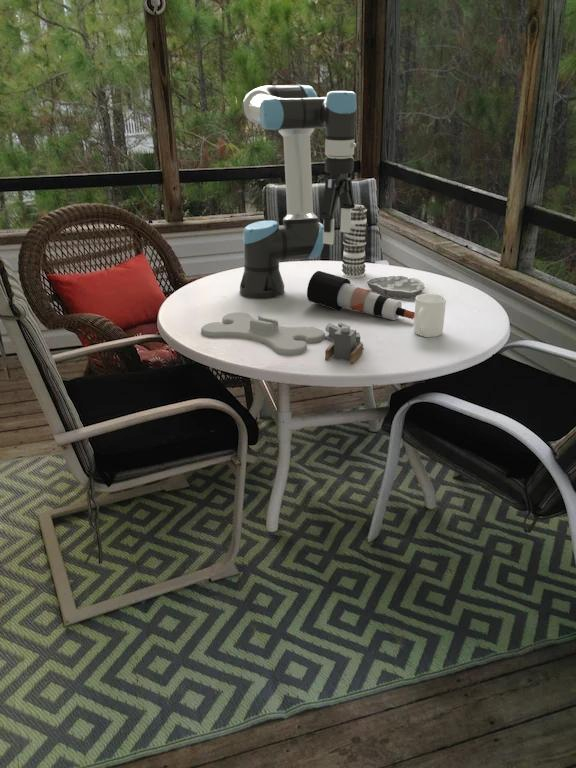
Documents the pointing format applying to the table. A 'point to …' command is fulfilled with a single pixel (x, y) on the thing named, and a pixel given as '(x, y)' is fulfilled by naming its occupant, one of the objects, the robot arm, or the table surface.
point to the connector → (344, 343)
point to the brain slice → (396, 286)
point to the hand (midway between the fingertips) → (336, 237)
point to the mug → (429, 315)
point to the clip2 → (358, 339)
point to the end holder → (353, 356)
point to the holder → (265, 332)
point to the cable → (352, 297)
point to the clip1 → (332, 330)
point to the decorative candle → (355, 244)
